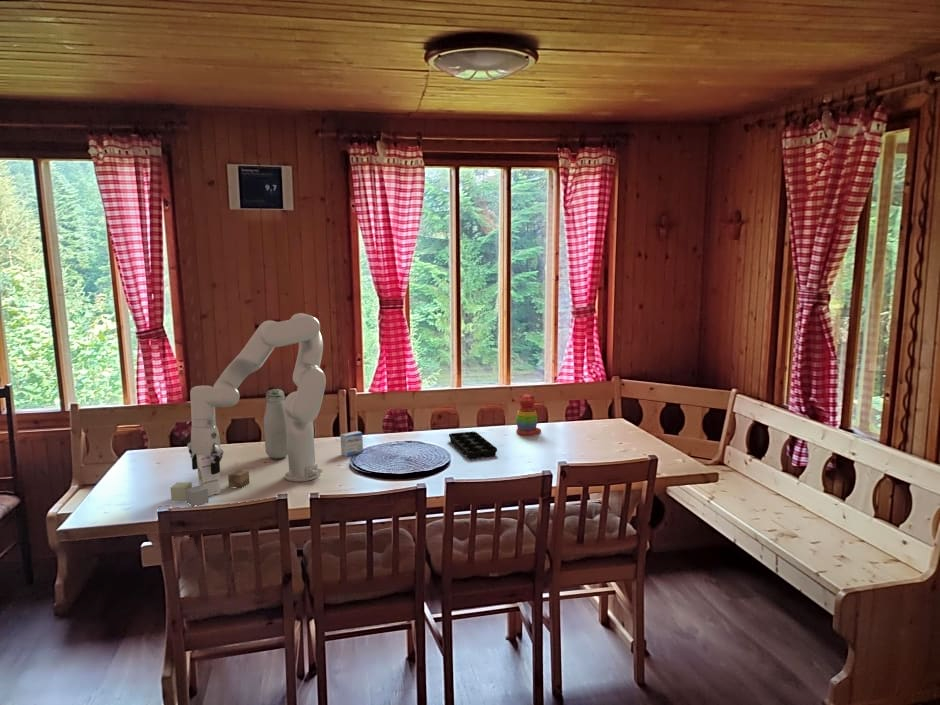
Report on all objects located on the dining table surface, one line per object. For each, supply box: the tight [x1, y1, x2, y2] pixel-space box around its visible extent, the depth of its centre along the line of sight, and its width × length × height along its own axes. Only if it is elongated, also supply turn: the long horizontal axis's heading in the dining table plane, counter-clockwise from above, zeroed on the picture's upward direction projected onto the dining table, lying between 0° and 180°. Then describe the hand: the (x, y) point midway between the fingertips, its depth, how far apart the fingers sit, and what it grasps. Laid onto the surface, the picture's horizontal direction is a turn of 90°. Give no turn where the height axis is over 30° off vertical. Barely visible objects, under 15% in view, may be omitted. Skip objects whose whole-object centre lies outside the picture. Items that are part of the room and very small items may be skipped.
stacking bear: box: [515, 393, 542, 437], centre depth 296 cm, size 11×10×18 cm
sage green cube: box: [170, 481, 193, 502], centre depth 225 cm, size 5×5×5 cm
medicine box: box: [339, 430, 364, 458], centre depth 272 cm, size 8×4×9 cm, turn 131°
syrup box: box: [196, 453, 221, 497], centre depth 229 cm, size 6×6×14 cm
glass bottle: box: [263, 388, 288, 460], centre depth 266 cm, size 10×10×28 cm
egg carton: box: [448, 431, 498, 460], centre depth 276 cm, size 18×30×4 cm, turn 30°
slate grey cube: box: [186, 484, 210, 507], centre depth 221 cm, size 5×5×5 cm
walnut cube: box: [227, 469, 251, 489], centre depth 237 cm, size 5×5×5 cm
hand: (206, 471), depth 228 cm, fingers open, 9 cm apart
